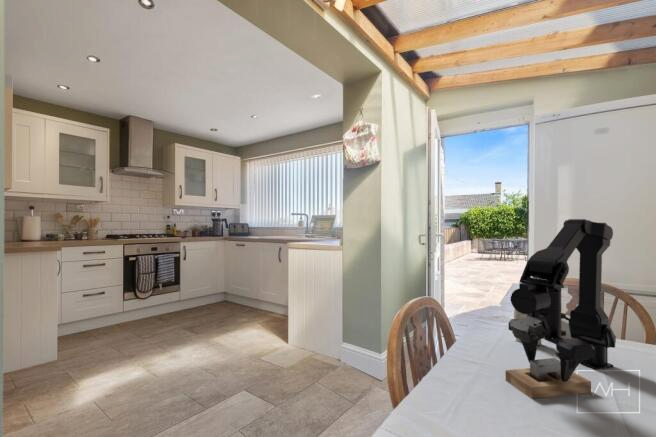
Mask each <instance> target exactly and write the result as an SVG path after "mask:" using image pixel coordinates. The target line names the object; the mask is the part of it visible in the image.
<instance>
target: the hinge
mask: <svg viewBox="0 0 656 437" xmlns="http://www.w3.org/2000/svg"><path fill="white" fill-rule="evenodd" d="M569 319H570V315H567V314H566V318H564V319H561V330H564V331H566V336H561V338H563V339H573V338H571V334H570V329H569Z"/></svg>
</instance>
